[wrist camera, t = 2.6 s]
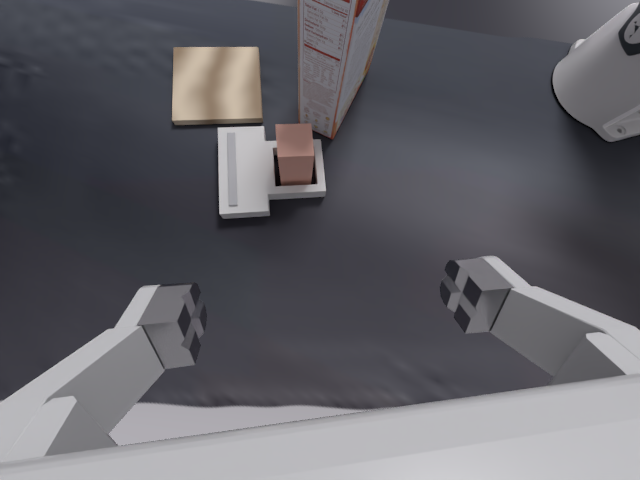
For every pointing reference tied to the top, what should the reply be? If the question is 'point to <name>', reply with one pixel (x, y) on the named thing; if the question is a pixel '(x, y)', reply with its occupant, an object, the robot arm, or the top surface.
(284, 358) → the top surface
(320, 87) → the cracker box
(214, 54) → the board
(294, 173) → the block
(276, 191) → the dispenser
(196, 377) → the top surface
